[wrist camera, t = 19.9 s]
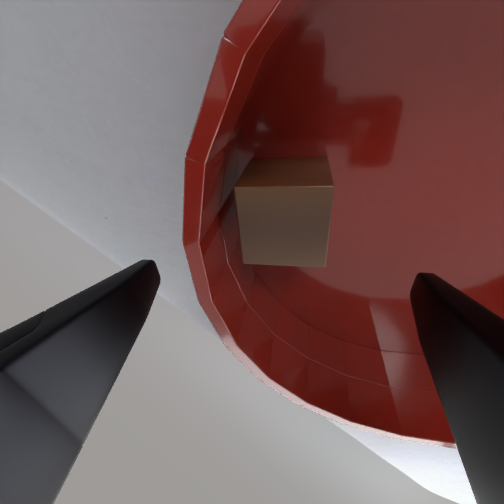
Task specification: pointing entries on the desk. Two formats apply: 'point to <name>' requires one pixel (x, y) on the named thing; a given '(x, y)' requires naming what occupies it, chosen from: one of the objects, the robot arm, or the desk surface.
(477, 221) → the red round bowl
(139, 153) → the desk surface
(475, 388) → the robot arm
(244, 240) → the block
